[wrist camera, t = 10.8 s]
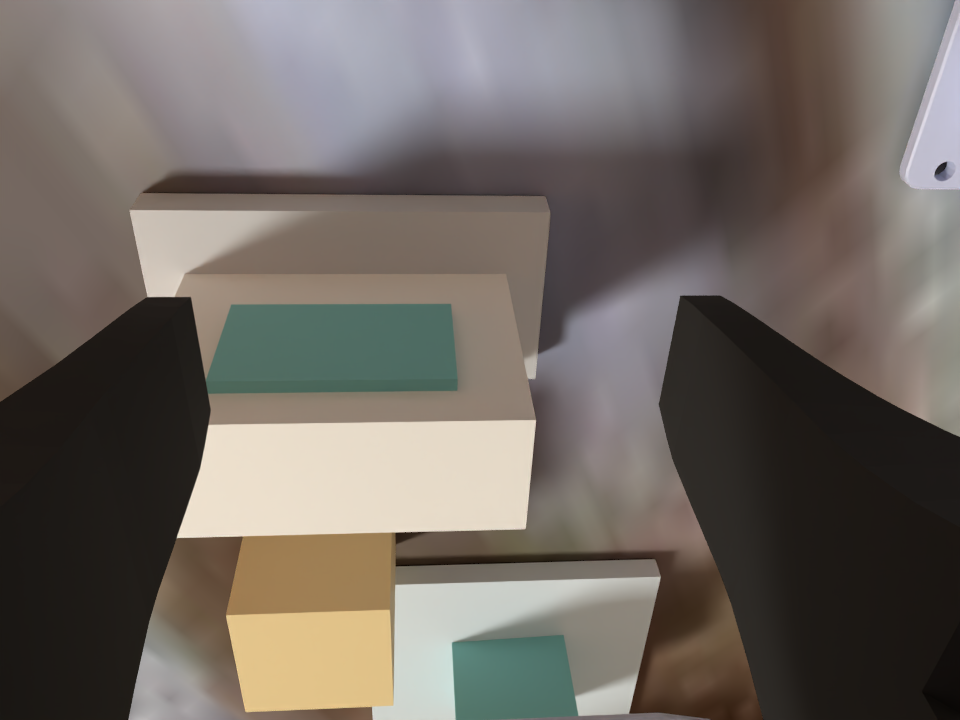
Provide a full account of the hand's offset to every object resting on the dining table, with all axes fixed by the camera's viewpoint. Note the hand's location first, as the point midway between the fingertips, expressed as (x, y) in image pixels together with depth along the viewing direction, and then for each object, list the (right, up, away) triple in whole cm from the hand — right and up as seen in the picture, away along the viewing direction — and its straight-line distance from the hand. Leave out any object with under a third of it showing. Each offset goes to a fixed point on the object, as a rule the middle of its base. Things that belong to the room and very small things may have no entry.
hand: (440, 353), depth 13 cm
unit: (-3, +2, +10) cm, 10 cm away
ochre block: (-4, -5, +14) cm, 16 cm away
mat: (+2, -11, +19) cm, 22 cm away
